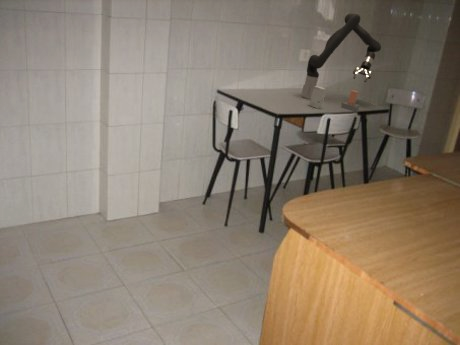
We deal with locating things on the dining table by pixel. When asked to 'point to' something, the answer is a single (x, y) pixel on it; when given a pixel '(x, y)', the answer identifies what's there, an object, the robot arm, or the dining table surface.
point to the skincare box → (317, 97)
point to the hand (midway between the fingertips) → (359, 80)
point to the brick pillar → (352, 97)
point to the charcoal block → (350, 106)
